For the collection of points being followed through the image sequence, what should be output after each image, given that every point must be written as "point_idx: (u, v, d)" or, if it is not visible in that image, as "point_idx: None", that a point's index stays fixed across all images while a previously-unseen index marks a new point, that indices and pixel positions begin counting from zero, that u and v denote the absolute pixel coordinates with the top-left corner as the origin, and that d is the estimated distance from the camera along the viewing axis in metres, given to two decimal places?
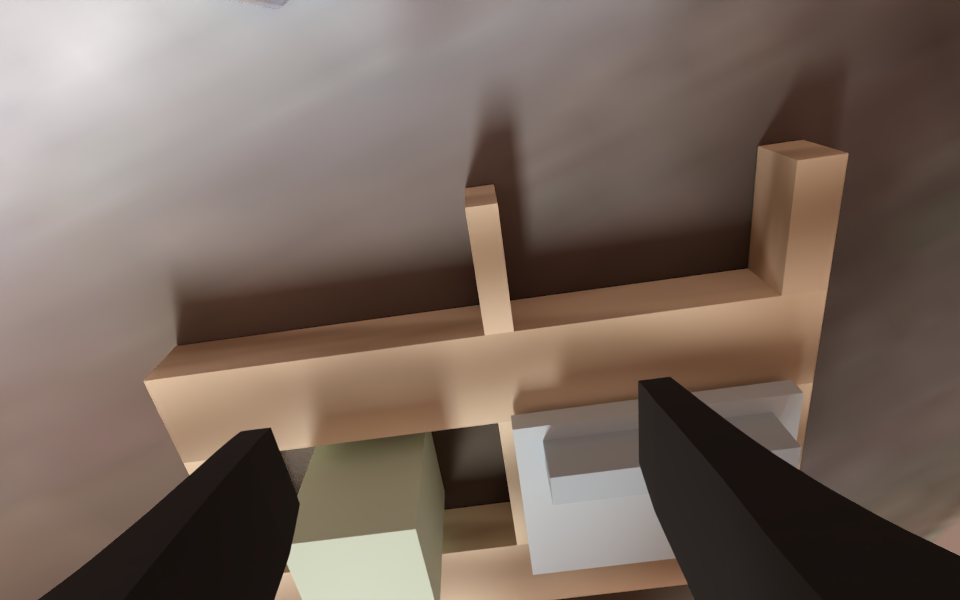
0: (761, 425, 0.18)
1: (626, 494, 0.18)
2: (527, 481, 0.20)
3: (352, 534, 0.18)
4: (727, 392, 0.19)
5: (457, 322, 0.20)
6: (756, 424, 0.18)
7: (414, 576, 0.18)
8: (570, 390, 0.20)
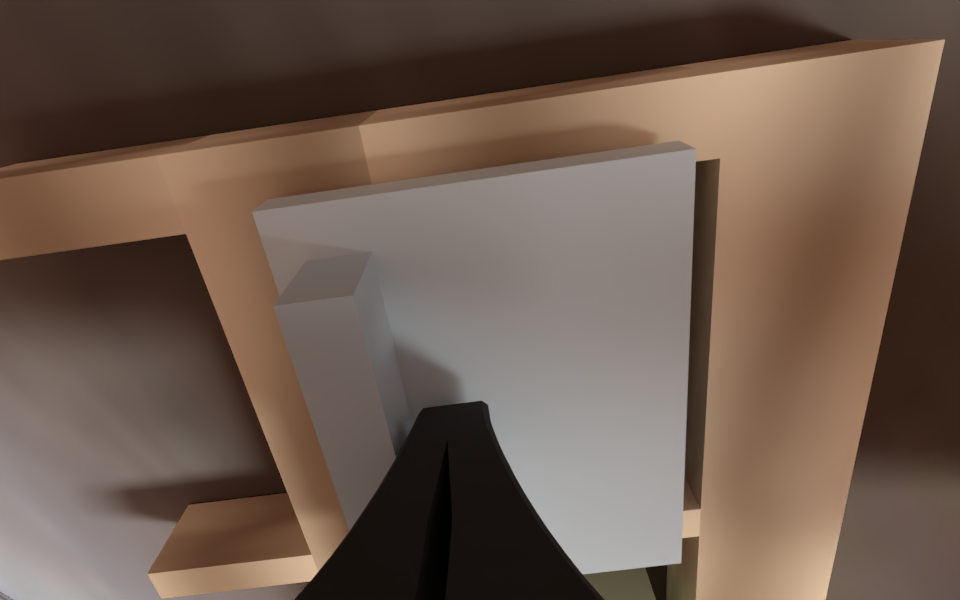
0: None
1: None
2: None
3: None
4: None
5: None
6: None
7: None
8: None
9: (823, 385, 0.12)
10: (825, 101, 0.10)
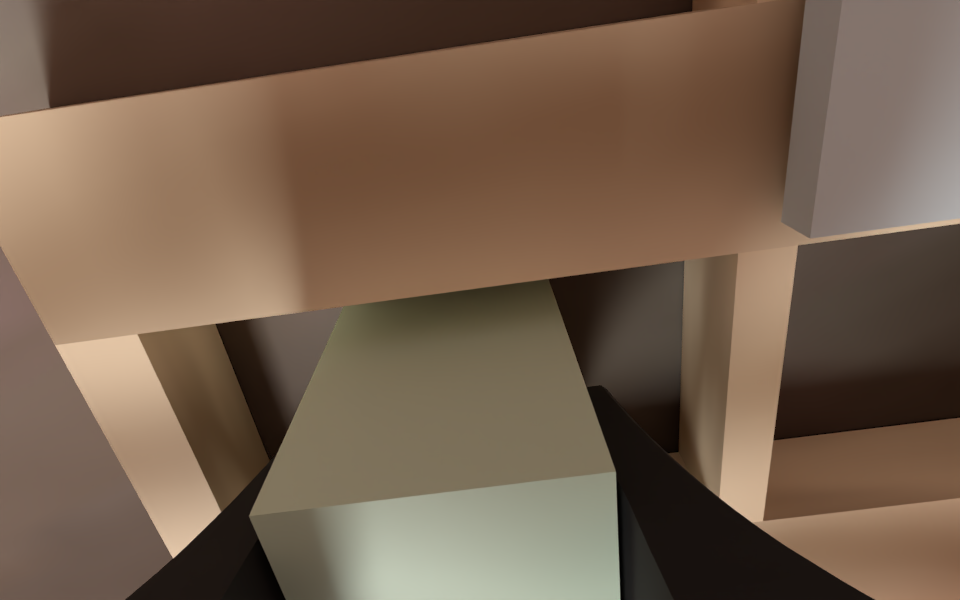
0: None
1: None
2: None
3: (443, 486, 0.07)
4: None
5: (658, 17, 0.09)
6: None
7: (586, 596, 0.07)
8: None
9: (898, 583, 0.13)
10: None
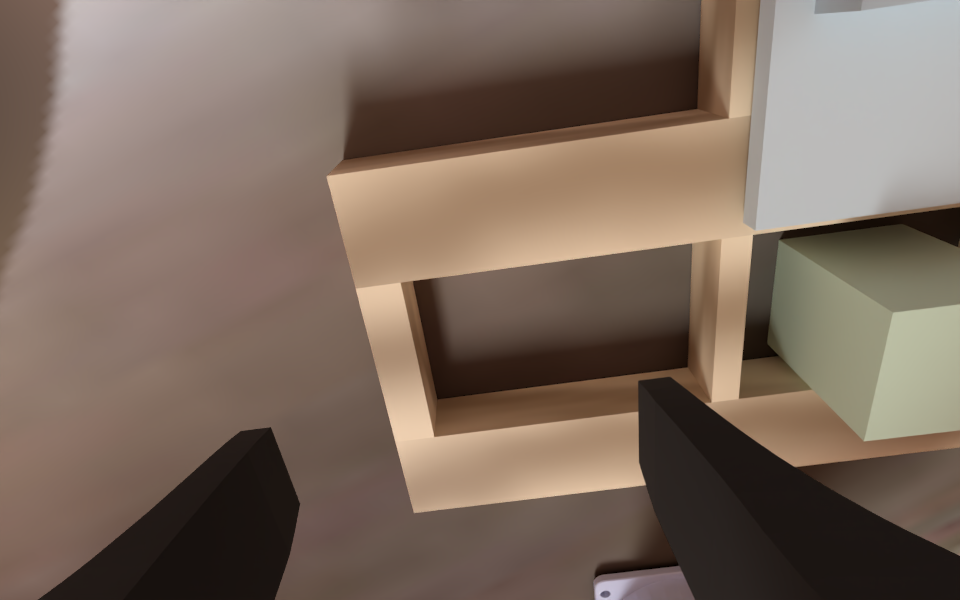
0: None
1: None
2: (782, 44, 0.14)
3: None
4: None
5: (680, 117, 0.17)
6: None
7: None
8: None
9: (822, 442, 0.21)
10: None
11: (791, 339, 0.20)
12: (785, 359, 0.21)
